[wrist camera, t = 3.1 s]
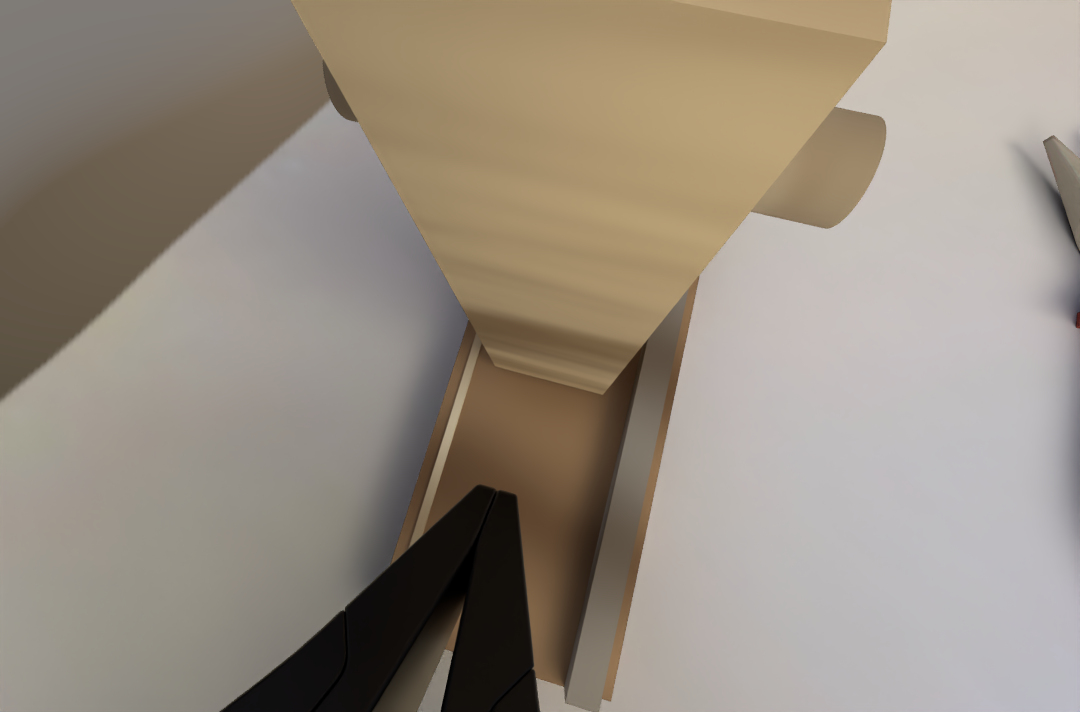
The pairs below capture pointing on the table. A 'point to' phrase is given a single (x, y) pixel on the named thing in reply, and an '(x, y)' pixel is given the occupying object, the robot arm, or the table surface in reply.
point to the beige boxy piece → (600, 148)
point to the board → (561, 491)
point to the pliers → (1066, 184)
